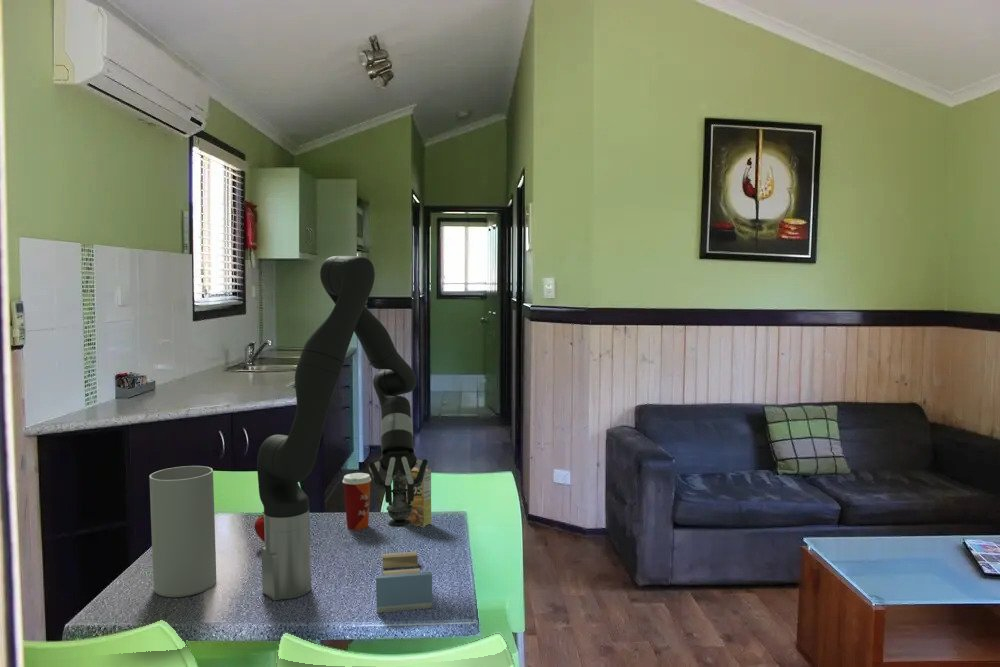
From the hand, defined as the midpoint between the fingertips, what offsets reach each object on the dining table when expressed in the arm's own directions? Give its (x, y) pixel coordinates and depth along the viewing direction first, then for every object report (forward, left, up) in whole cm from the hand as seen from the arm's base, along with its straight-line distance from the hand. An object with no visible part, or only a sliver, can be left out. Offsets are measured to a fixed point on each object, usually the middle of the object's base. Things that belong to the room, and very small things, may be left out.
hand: (400, 502), depth 159 cm
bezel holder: (-6, -10, -17) cm, 20 cm away
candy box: (+23, +30, -17) cm, 42 cm away
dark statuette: (+1, +2, -5) cm, 6 cm away
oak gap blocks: (+1, +2, -17) cm, 17 cm away
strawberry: (-14, +40, -17) cm, 46 cm away
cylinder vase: (-38, +27, -17) cm, 50 cm away
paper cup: (+10, +38, -17) cm, 43 cm away
